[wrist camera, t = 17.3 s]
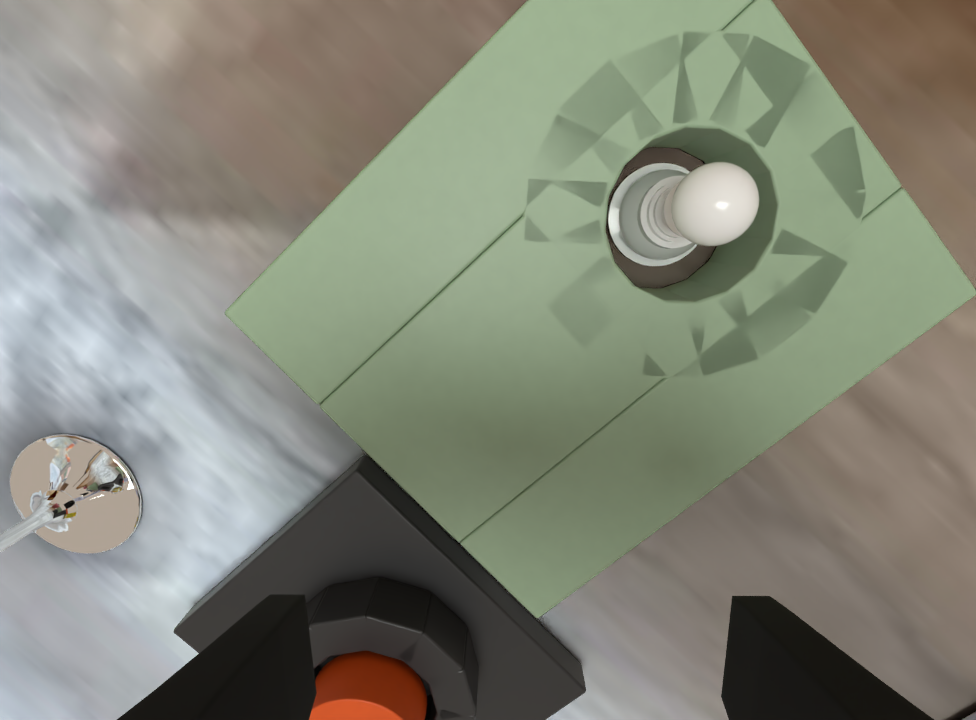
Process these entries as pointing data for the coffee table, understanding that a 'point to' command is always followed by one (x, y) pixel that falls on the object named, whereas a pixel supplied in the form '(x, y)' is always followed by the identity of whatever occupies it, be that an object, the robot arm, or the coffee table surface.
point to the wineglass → (73, 495)
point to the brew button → (368, 689)
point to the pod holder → (597, 283)
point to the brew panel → (399, 603)
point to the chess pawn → (680, 210)
